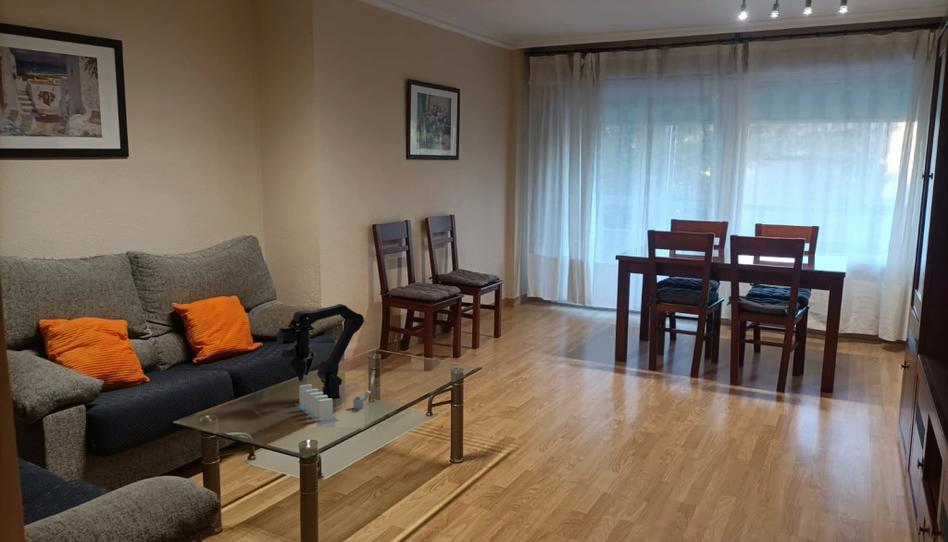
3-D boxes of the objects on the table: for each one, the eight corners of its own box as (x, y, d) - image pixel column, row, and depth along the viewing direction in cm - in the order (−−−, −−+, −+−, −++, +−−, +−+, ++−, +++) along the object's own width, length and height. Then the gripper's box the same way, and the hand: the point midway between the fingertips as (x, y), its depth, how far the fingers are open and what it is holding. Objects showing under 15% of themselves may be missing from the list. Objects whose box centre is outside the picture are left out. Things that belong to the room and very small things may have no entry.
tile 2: (310, 412, 283) (309, 393, 282) (321, 410, 286) (321, 391, 285) (311, 413, 282) (311, 394, 281) (323, 411, 284) (323, 392, 283)
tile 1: (305, 409, 287) (305, 390, 286) (317, 407, 290) (317, 388, 289) (307, 410, 286) (306, 391, 285) (318, 408, 289) (318, 389, 288)
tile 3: (314, 416, 279) (314, 396, 278) (326, 414, 282) (326, 394, 281) (315, 417, 278) (315, 397, 277) (327, 415, 280) (327, 395, 279)
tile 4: (319, 420, 275) (318, 400, 274) (331, 417, 277) (330, 398, 276) (320, 421, 273) (320, 401, 272) (332, 419, 276) (332, 399, 275)
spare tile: (299, 404, 294) (299, 385, 293) (311, 402, 296) (310, 384, 295) (300, 405, 292) (300, 386, 291) (312, 403, 295) (312, 384, 294)
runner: (294, 404, 295) (294, 403, 295) (312, 401, 299) (312, 400, 299) (319, 425, 270) (319, 424, 270) (339, 421, 274) (339, 420, 274)
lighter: (353, 409, 289) (353, 390, 288) (354, 408, 291) (354, 389, 290) (370, 410, 288) (369, 391, 287) (371, 409, 290) (371, 390, 289)
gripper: (289, 336, 302) (290, 371, 304) (276, 346, 284) (277, 384, 286) (315, 336, 302) (316, 372, 304) (304, 346, 284) (305, 384, 286)
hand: (303, 378), depth 295 cm, fingers open, 9 cm apart
